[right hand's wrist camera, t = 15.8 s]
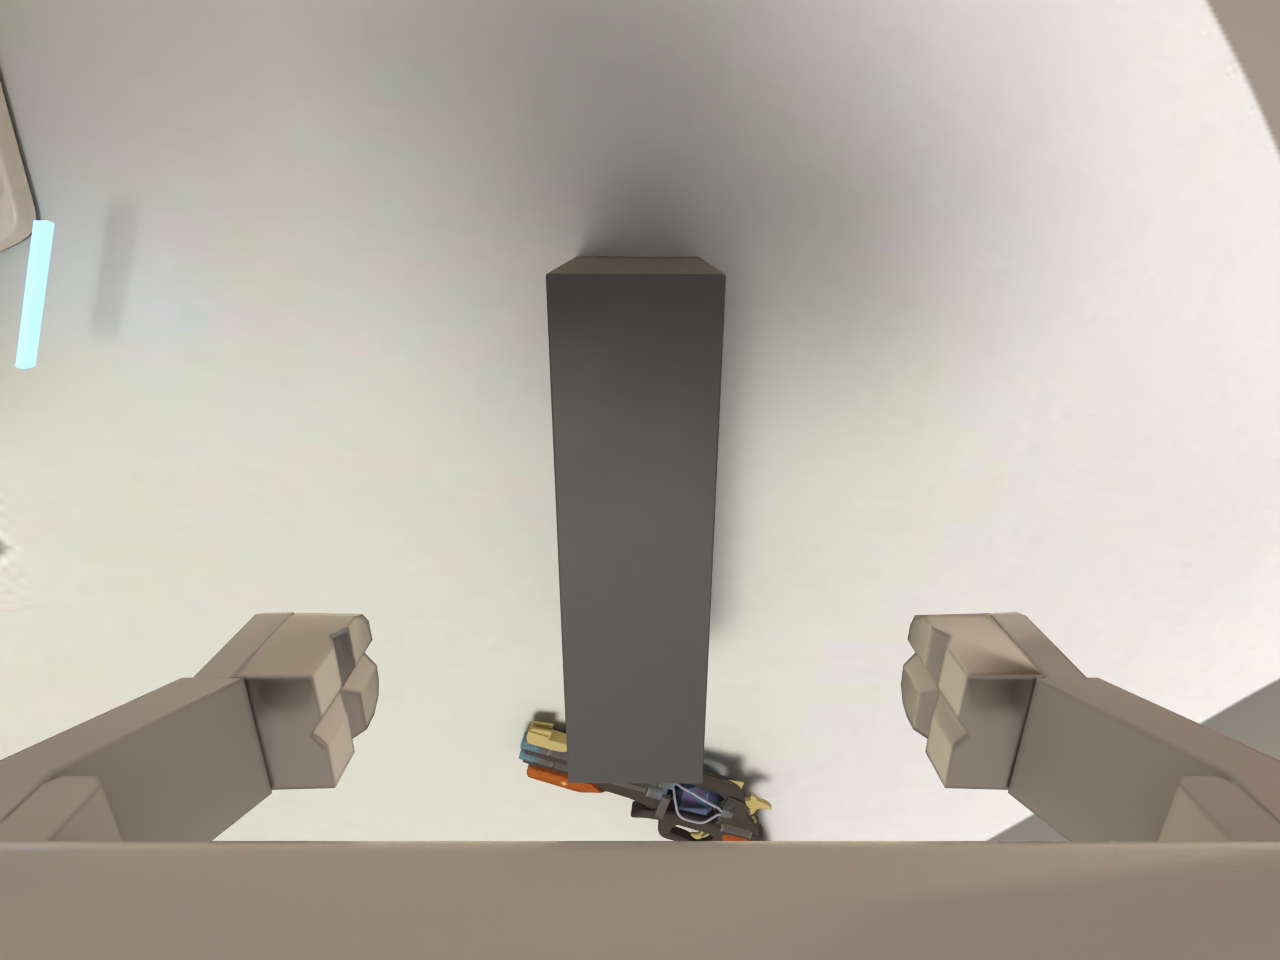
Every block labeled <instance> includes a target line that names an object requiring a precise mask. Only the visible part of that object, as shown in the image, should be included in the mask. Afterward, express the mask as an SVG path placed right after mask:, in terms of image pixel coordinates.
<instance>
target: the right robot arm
mask: <svg viewBox="0 0 1280 960" xmlns="http://www.w3.org/2000/svg"><path fill="white" fill-rule="evenodd" d="M53 231H54V223H52V222H50V221H47V220H36V210H35V206H34V203H33V199H32V195H31V192H30V188H29V184H28V181H27V177H26V174H25V170H24V166H23V163H22V159H21V155H20V152H19V148H18V144H17V141H16V137H15V133H14V130H13V126H12V123H11V119H10V115H9V112H8V108H7V104H6V101H5V97H4V93H3V90H2V86H1V82H0V252H1V251H3V250H5V249H7V248H9V247H11V246H13V245H15V244H17V243H19V242H21V241H22V240H24V239H25V238H27V237H28V236H29V235H30V234H31V233H32V238H31V246H30V254H29V262H28V270H27V278H26V286H25V294H24V302H23V310H22V318H21V326H20V334H19V342H18V350H17V358H16V366H15V367H18V368H21V369H26V368H30V367H34V366H35V364H36V357H37V350H38V342H39V335H40V327H41V320H42V313H43V305H44V298H45V290H46V283H47V275H48V268H49V261H50V253H51V246H52V238H53ZM371 641H372V635H371V631H370V626H369V621H368V619H367V618H366V617H365V616H364V615H363V614H329V613H296V614H295V613H293V612H287V613H261V614H257V615H255V616H254V617H253V618H252V619H251V620H250V621H249V622H248V623H247V624H246V625H245V626H244V627H243V628H242V629H241V630H240V631H239V632H238V633H237V634H236V635H235V636H234V637H233V638H232V639H231V640H230V641H229V642H228V643H227V644H226V645H225V646H224V647H223V648H222V649H221V650H220V651H219V652H218V653H217V654H216V655H215V656H214V657H213V658H212V659H211V660H210V661H209V662H208V663H207V664H206V665H205V666H204V667H203V668H202V669H201V670H200V671H199V672H198V673H197V674H196V675H195V676H194V677H193V678H181V679H178V680H176V681H174V682H172V683H170V684H167V685H165V686H163V687H161V688H159V689H156V690H154V691H152V692H150V693H148V694H145V695H143V696H141V697H139V698H137V699H134V700H132V701H130V702H128V703H126V704H123V705H121V706H119V707H117V708H115V709H112V710H110V711H108V712H106V713H104V714H101V715H99V716H97V717H95V718H92V719H90V720H88V721H86V722H84V723H81V724H79V725H77V726H75V727H73V728H70V729H68V730H66V731H64V732H62V733H59V734H57V735H55V736H53V737H51V738H48V739H46V740H44V741H42V742H40V743H37V744H35V745H33V746H31V747H29V748H26V749H24V750H22V751H20V752H18V753H15V754H13V755H11V756H9V757H7V758H4V759H2V760H0V960H1280V761H1279V760H1277V759H1275V758H1273V757H1271V756H1268V755H1266V754H1264V753H1262V752H1260V751H1257V750H1255V749H1253V748H1251V747H1249V746H1247V745H1244V744H1242V743H1240V742H1238V741H1235V740H1233V739H1231V738H1229V737H1227V736H1225V735H1222V734H1220V733H1218V732H1216V731H1214V730H1211V729H1209V728H1207V727H1205V726H1203V725H1200V724H1198V723H1196V722H1194V721H1192V720H1189V719H1187V718H1185V717H1183V716H1181V715H1178V714H1176V713H1174V712H1172V711H1170V710H1168V709H1165V708H1163V707H1161V706H1159V705H1157V704H1154V703H1152V702H1150V701H1148V700H1146V699H1143V698H1141V697H1139V696H1137V695H1135V694H1132V693H1130V692H1128V691H1126V690H1124V689H1121V688H1119V687H1117V686H1115V685H1113V684H1110V683H1108V682H1106V681H1104V680H1102V679H1099V678H1087V677H1086V676H1085V675H1084V674H1083V673H1082V672H1081V671H1080V670H1079V669H1078V668H1077V667H1076V666H1075V665H1074V664H1073V663H1072V662H1071V661H1070V660H1069V659H1068V658H1067V657H1066V656H1065V655H1064V654H1063V653H1062V652H1061V651H1060V650H1059V649H1058V648H1057V647H1056V646H1055V645H1054V644H1053V643H1052V642H1051V641H1050V640H1049V639H1048V638H1047V637H1046V636H1045V635H1044V634H1043V633H1042V632H1041V631H1040V630H1039V629H1038V628H1037V627H1036V626H1035V624H1034V623H1033V622H1032V621H1031V620H1030V619H1029V618H1028V617H1027V616H1025V615H1023V614H1020V613H1018V612H1007V613H983V614H946V615H915V616H914V618H913V620H912V622H911V624H910V629H909V635H908V641H909V643H910V644H911V646H912V647H913V649H914V651H915V652H916V653H915V654H914V655H913V656H912V657H911V658H910V659H909V660H908V661H907V662H906V663H905V664H904V665H903V672H902V680H901V690H902V701H903V706H904V709H905V712H906V715H907V718H908V720H909V722H910V724H911V726H912V728H913V729H914V730H915V731H917V732H918V733H920V734H921V735H923V736H924V737H926V738H927V739H928V740H927V746H926V754H927V756H928V758H929V759H930V761H931V763H932V765H933V767H934V769H935V770H936V772H937V774H938V776H939V778H940V780H941V781H942V783H943V785H944V787H945V788H964V789H1000V790H1008V793H1009V794H1010V795H1012V796H1013V797H1014V798H1015V799H1017V800H1018V801H1019V802H1020V803H1022V804H1023V805H1024V806H1025V807H1027V808H1028V809H1029V810H1030V811H1032V812H1033V813H1034V814H1035V815H1037V816H1038V817H1039V818H1040V819H1042V820H1043V821H1044V822H1046V823H1047V824H1048V825H1049V826H1051V827H1052V828H1053V829H1054V830H1056V831H1057V832H1058V833H1059V834H1061V835H1062V836H1063V837H1064V838H1066V839H1067V840H1068V841H212V840H213V839H215V838H216V837H217V836H218V835H220V834H221V833H222V832H223V831H225V830H226V829H227V828H228V827H230V826H231V825H232V824H233V823H235V822H236V821H237V820H239V819H240V818H241V817H242V816H244V815H245V814H246V813H247V812H249V811H250V810H251V809H252V808H254V807H255V806H256V805H257V804H259V803H260V802H261V801H262V800H264V799H265V798H266V797H267V796H269V795H270V794H271V793H272V790H280V789H315V788H335V787H336V785H337V783H338V781H339V780H340V778H341V776H342V774H343V772H344V770H345V769H346V767H347V765H348V763H349V761H350V759H351V758H352V756H353V754H354V746H353V740H352V739H353V738H354V737H356V736H357V735H359V734H360V733H362V732H363V731H365V730H366V729H367V728H368V726H369V724H370V722H371V720H372V718H373V716H374V713H375V708H376V704H377V700H378V695H379V678H378V671H377V665H376V664H375V663H374V662H373V661H372V660H371V659H370V658H369V657H368V656H367V655H366V654H365V653H364V652H365V651H366V649H367V647H368V646H369V644H370V643H371Z"/></svg>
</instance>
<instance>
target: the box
mask: <svg viewBox="0 0 1280 960" xmlns="http://www.w3.org/2000/svg"><path fill="white" fill-rule="evenodd" d="M725 284H726V276H725V274H723V273H722V272H720V271H719V270H717V269H716V268H714V267H713V266H711V265H710V264H708V263H707V262H705V261H704V260H702V259H701V258H699V257H575V258H573V259H572V260H570V261H568V262H567V263H565V264H563V265H561V266H560V267H558V268H556V269H555V270H553V271H551V272H549V273H548V274H546V289H547V312H548V335H549V357H550V380H551V403H552V425H553V448H554V470H555V493H556V516H557V538H558V561H559V583H560V606H561V629H562V651H563V674H564V697H565V719H566V742H567V764H568V782H569V783H702V780H703V759H704V737H705V715H706V694H707V672H708V651H709V629H710V608H711V586H712V565H713V543H714V521H715V500H716V478H717V457H718V435H719V414H720V392H721V371H722V349H723V327H724V306H725Z"/></svg>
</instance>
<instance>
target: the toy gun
mask: <svg viewBox="0 0 1280 960" xmlns="http://www.w3.org/2000/svg"><path fill="white" fill-rule="evenodd" d="M553 725H554V724H553V723H546V722H540V721H531V723H530V726H529V730H528V732H525V733H524V736H523V739H522V743H521V747H520V748H521V752H520V755H519V759H522V760H523V762H525V763H528V764H529V766H528V769H527V775H528V777H530V778H533V779H537V780H540V781H543V782H547V783H550V784H553V785H557V786H560V787H563V788H567V789H570V790H574V791H578V792H592V793H602V792H604V791H608V792H611V793H615V794H618V795H621V796H624V797H628V798H630V799H633V800H635V801H634V802H633V803H632V811H631V816H632V817H640V818H651V819H657V820H659V822H658V831H659V834H660V835H661V836H662V837H664V838H667V839H670V840H674V841H763V828H762V826H761V825H760V824H759V821H758V818H757V816H756V815H755V811H756V810H757V809H770V810H771V804H770V803H769V802H768V801H766V800H764V799H761V798H759V797H757V796H756V795H755V794H754V793H751V794H750V797H746V795H745V793H744V791H743V789H742V787H743V785H744V782H740V781H735V780H733V779H730V778H728V777H725V776H721V775H718V774H714V773H711V772H707V771H703V780H702V783H569V782H568V764H567V742H566V733H562V732H559V731H556V730H553ZM670 794H671V796H672V798H673V800H672V799H671V796H670ZM717 805H718V806H717ZM714 808H716V810H713V809H714ZM676 825H681V826H684V827H688V828H691V829H695V830H699V831H700V832H691V833H690V832H688V831H686V830H684V829H682V828H679V827H676ZM708 834H710V835H708ZM706 835H708V836H707V837H705V836H706ZM703 837H704V838H703Z"/></svg>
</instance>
